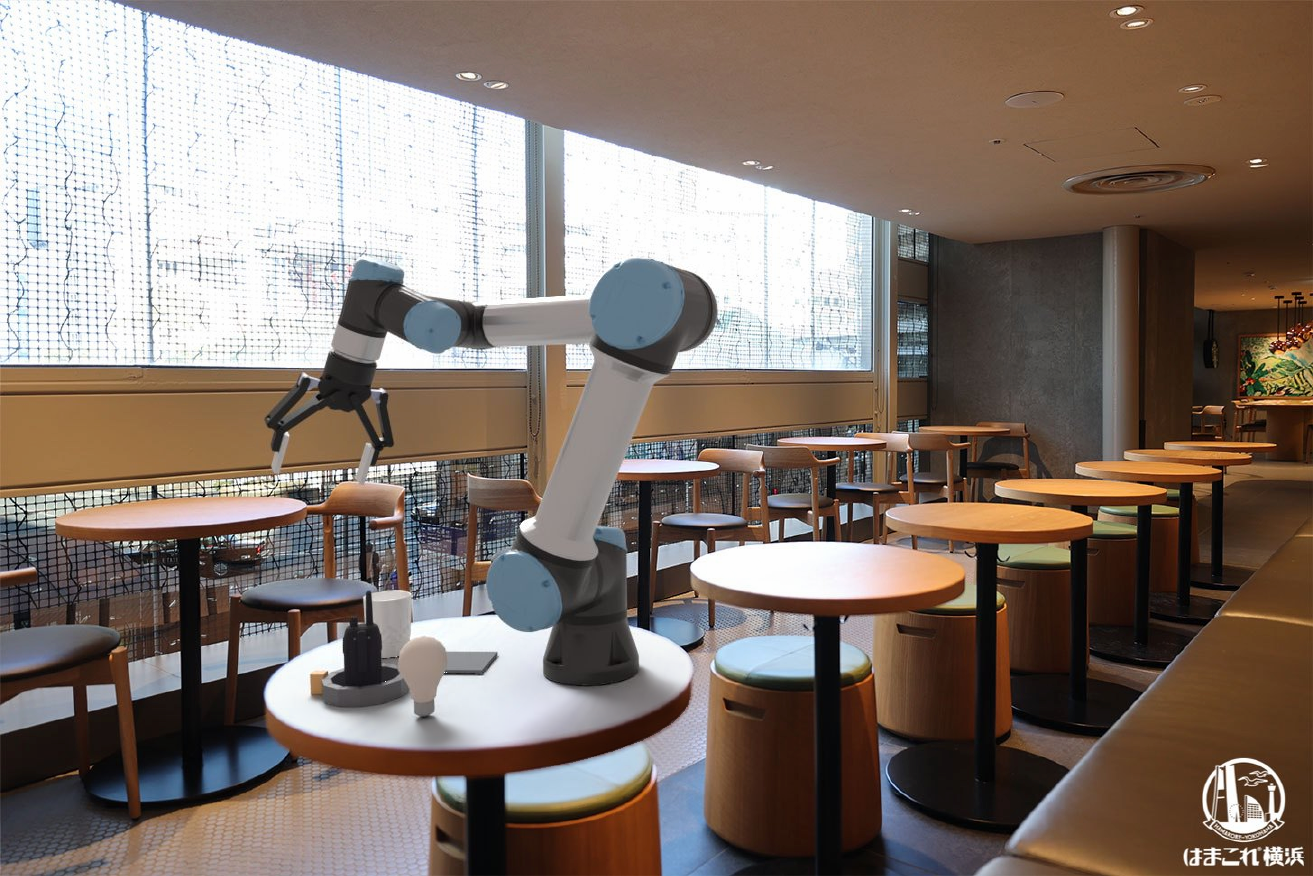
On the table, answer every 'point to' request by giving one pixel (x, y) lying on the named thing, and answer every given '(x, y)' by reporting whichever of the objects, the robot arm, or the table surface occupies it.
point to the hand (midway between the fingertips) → (318, 476)
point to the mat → (469, 662)
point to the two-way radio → (362, 650)
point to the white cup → (392, 619)
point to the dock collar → (358, 688)
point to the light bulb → (423, 671)
